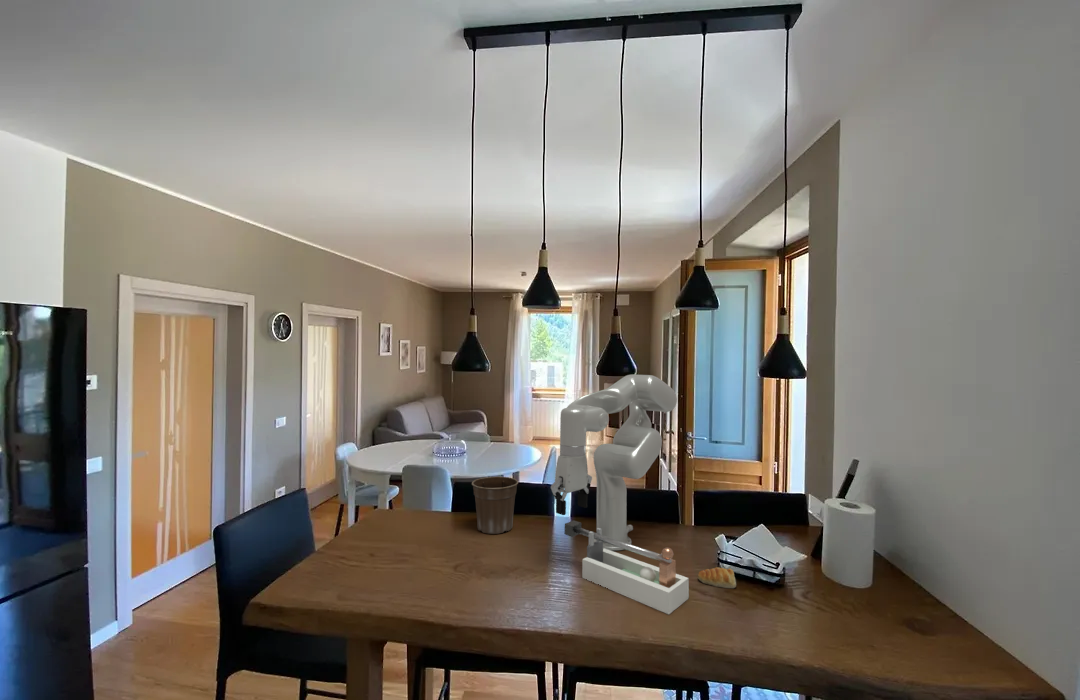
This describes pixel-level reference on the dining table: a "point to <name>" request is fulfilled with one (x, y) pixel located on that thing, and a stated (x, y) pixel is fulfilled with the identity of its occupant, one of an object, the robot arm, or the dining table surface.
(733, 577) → the pastry
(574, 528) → the kicker rod
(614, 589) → the foosball box
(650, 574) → the ball
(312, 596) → the dining table surface
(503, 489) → the plant pot
